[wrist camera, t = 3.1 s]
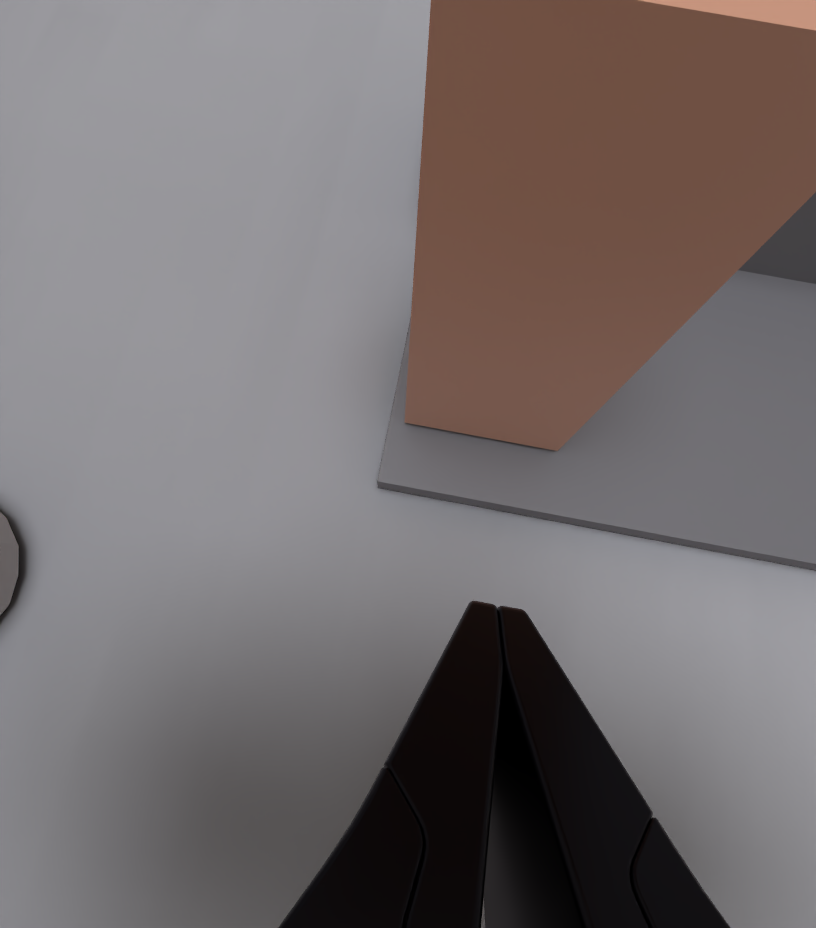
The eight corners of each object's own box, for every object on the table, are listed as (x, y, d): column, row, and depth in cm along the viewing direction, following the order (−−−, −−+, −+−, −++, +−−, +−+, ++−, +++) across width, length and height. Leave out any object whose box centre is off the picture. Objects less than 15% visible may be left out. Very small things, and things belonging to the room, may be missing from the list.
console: (1036, 611, 20) (1348, 609, 13) (377, 487, 20) (371, 427, 14) (1005, 200, 24) (1233, 46, 17) (456, 104, 24) (479, -81, 18)
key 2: (557, 451, 19) (954, 53, 6) (404, 422, 19) (432, -34, 6) (572, 338, 20) (937, -228, 7) (426, 312, 20) (493, -300, 7)
